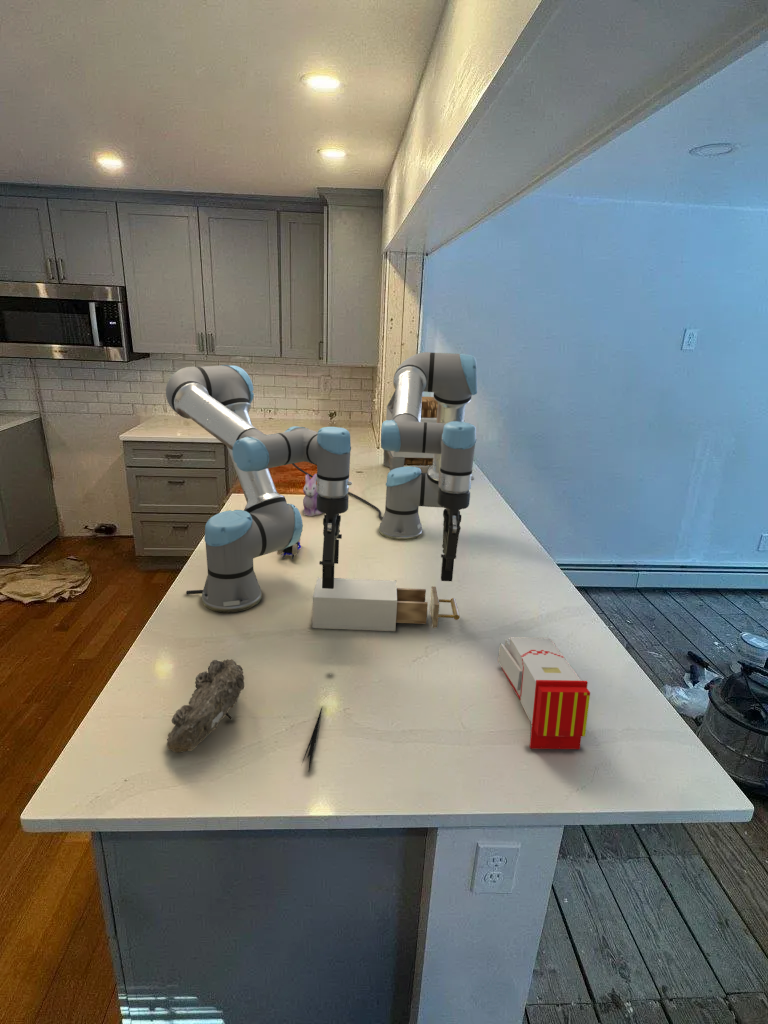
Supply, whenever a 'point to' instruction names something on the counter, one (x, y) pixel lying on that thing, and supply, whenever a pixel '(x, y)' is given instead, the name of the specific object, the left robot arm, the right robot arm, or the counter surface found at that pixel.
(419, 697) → the counter surface
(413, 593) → the drawer
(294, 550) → the figurine character
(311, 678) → the counter surface
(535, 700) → the toy
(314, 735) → the feather
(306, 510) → the figurine
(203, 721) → the fossil
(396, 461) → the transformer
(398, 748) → the counter surface
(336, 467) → the left robot arm
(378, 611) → the cabinet
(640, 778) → the counter surface
